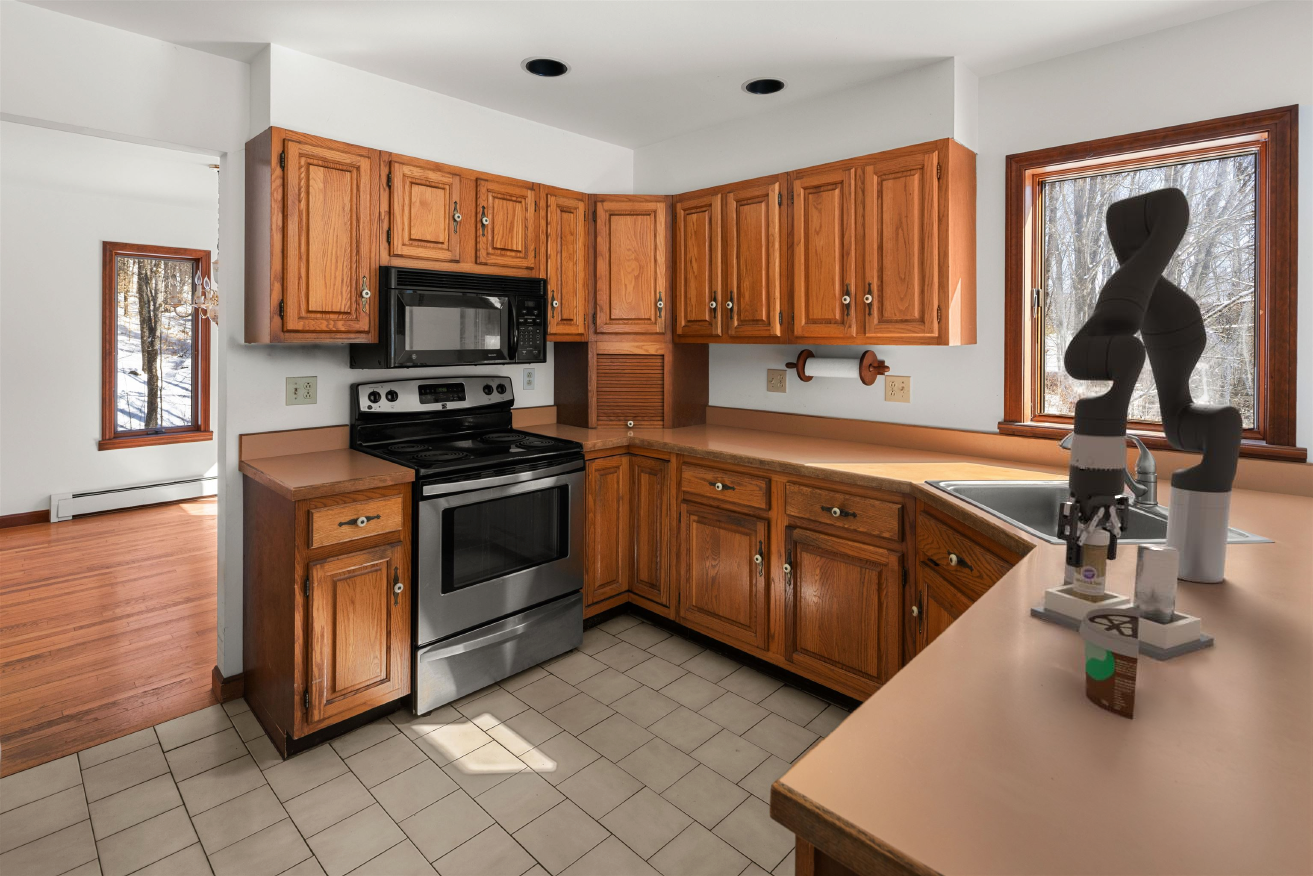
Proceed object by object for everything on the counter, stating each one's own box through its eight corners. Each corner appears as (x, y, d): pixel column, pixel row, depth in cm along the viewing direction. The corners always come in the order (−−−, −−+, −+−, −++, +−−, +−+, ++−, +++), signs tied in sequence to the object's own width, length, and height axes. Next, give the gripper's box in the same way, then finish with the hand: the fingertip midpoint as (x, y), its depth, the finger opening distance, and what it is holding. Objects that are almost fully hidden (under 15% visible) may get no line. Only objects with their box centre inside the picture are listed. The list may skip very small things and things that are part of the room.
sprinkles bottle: (1073, 614, 113) (1079, 532, 111) (1068, 605, 117) (1074, 525, 116) (1106, 618, 111) (1113, 535, 110) (1100, 608, 116) (1106, 528, 114)
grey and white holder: (1081, 602, 122) (1082, 579, 121) (1213, 644, 104) (1215, 618, 103) (1030, 614, 116) (1031, 590, 115) (1161, 660, 98) (1163, 633, 98)
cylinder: (1143, 625, 108) (1150, 542, 107) (1179, 636, 104) (1187, 550, 103) (1123, 630, 106) (1130, 546, 105) (1159, 642, 102) (1166, 554, 100)
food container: (1078, 672, 95) (1083, 600, 93) (1134, 684, 91) (1140, 609, 90) (1070, 709, 84) (1076, 629, 83) (1132, 724, 81) (1139, 641, 80)
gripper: (1101, 456, 118) (1095, 551, 120) (1045, 463, 112) (1040, 562, 113) (1149, 462, 111) (1142, 562, 113) (1092, 469, 105) (1085, 575, 107)
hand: (1091, 562), depth 113 cm, fingers open, 8 cm apart
